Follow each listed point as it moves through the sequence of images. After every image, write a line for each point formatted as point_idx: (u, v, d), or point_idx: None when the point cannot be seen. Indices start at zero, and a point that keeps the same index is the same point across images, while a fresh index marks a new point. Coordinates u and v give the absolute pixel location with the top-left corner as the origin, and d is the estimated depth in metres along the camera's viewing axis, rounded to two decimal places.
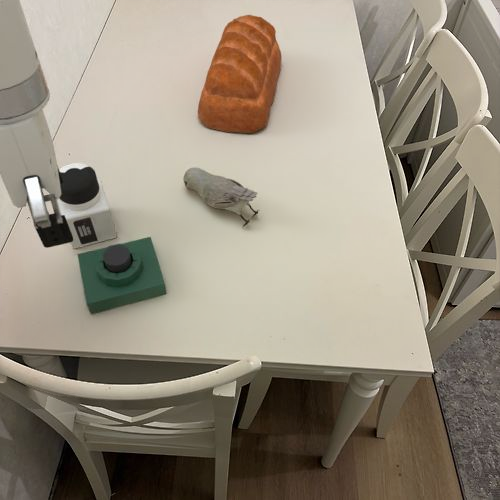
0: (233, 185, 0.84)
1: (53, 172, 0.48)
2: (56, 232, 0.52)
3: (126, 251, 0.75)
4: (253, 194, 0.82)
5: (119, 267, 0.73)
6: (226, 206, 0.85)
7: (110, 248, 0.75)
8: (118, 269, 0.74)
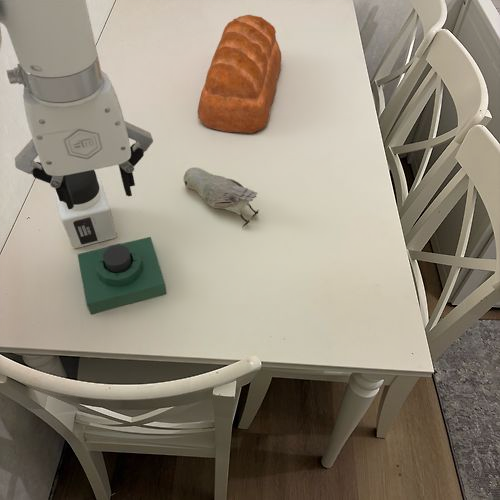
0: (233, 185, 0.84)
1: None
2: None
3: (126, 251, 0.75)
4: (253, 194, 0.82)
5: (119, 267, 0.73)
6: (226, 206, 0.85)
7: (110, 248, 0.75)
8: (118, 269, 0.74)
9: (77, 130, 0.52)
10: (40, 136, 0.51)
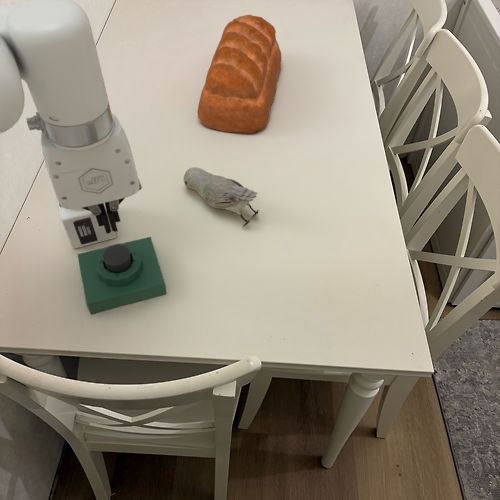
0: (233, 185, 0.84)
1: None
2: None
3: (126, 251, 0.75)
4: (253, 194, 0.82)
5: (119, 267, 0.73)
6: (226, 206, 0.85)
7: (110, 248, 0.75)
8: (118, 269, 0.74)
9: (90, 169, 0.57)
10: (56, 175, 0.56)
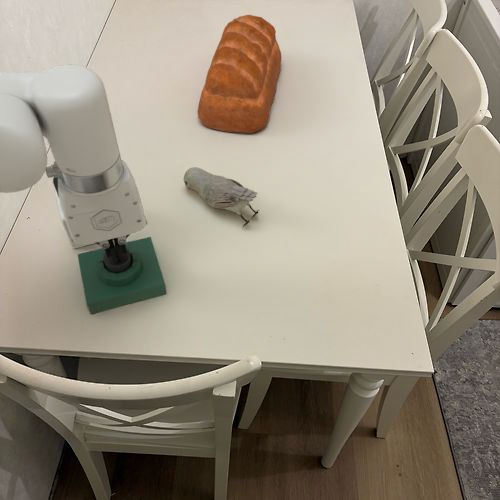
0: (233, 185, 0.84)
1: None
2: None
3: (127, 252, 0.75)
4: (253, 194, 0.82)
5: (119, 268, 0.74)
6: (226, 206, 0.85)
7: None
8: (118, 270, 0.74)
9: (102, 210, 0.62)
10: (71, 216, 0.62)
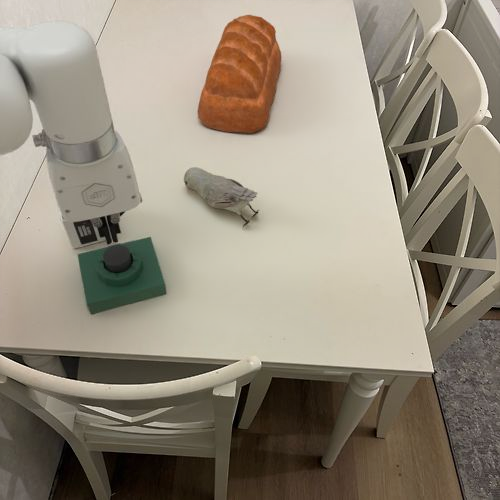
0: (233, 185, 0.84)
1: None
2: None
3: (126, 251, 0.75)
4: (253, 194, 0.82)
5: (119, 267, 0.73)
6: (226, 206, 0.85)
7: (110, 248, 0.75)
8: (118, 269, 0.74)
9: (93, 184, 0.59)
10: (60, 190, 0.58)
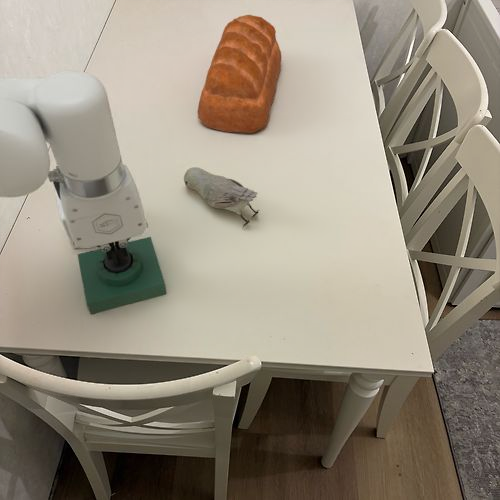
0: (233, 185, 0.84)
1: None
2: None
3: None
4: (253, 194, 0.82)
5: (120, 271, 0.74)
6: (226, 206, 0.85)
7: None
8: None
9: (103, 214, 0.63)
10: (73, 220, 0.62)
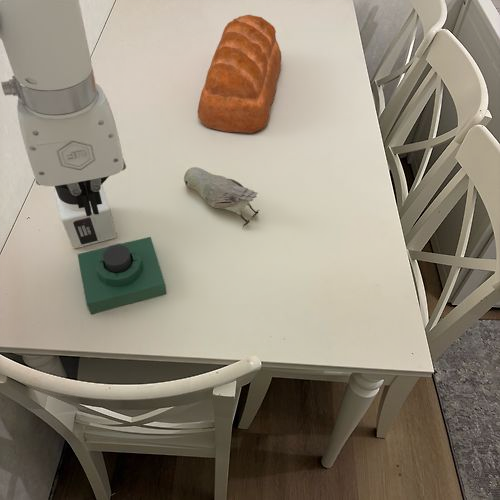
0: (233, 185, 0.84)
1: None
2: None
3: (126, 251, 0.75)
4: (253, 194, 0.82)
5: (119, 267, 0.73)
6: (226, 206, 0.85)
7: (110, 248, 0.75)
8: (118, 269, 0.74)
9: (71, 142, 0.53)
10: (33, 147, 0.52)
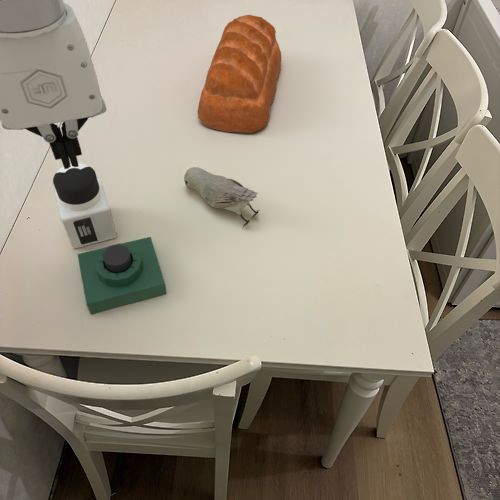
0: (233, 185, 0.84)
1: None
2: None
3: (126, 251, 0.75)
4: (253, 194, 0.82)
5: (119, 267, 0.73)
6: (226, 206, 0.85)
7: (110, 248, 0.75)
8: (118, 269, 0.74)
9: (36, 71, 0.45)
10: None
